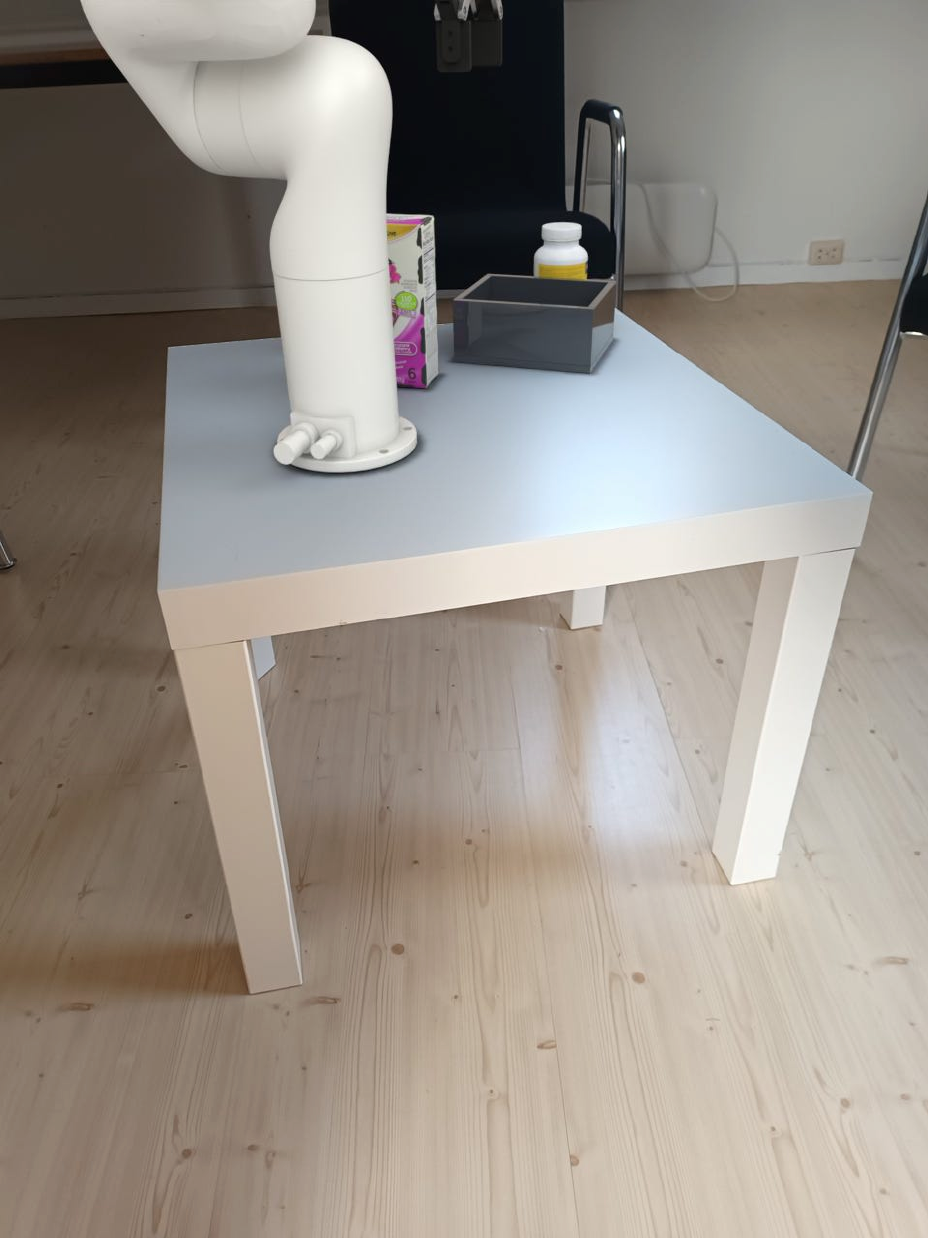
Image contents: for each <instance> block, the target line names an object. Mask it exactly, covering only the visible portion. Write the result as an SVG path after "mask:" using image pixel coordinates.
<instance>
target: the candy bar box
mask: <svg viewBox="0 0 928 1238" xmlns="http://www.w3.org/2000/svg"><path fill="white" fill-rule="evenodd" d="M386 223H387V244H388V261H389V273H390V289H391V305H392V320H393V336H394V352H395V367H396V383H397V387H401V388H402V387H404V388H416V389H417V388H418V389H427V388H428V387H430V385H431V384H432V382H433V381H434V380H435V379H436V378H437V377H438V376H439V374H440V373H439V370H440V369H439V367H440V365H439V364H440V363H439V342H438V341H439V340H438V339H439V338H438V337H439V335H438V334H439V333H438V311H437V310H438V305H437V303H438V302H437V273H436V234H435V217H434V215H430V214H407V213H386Z"/></svg>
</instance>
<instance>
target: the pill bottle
mask: <svg viewBox="0 0 928 1238" xmlns="http://www.w3.org/2000/svg"><path fill="white" fill-rule="evenodd" d="M581 238H582V225H581V224H579V223H577V222H566V221H560V222H548V223H545V224H542V226H541V239H542V240H543V245H542V246H540V247H539V248H538V249H537V250H536V251H535V253H534V256H533V276H535V277H553V278H571V279H588V261H589V256H588V252H587V250H586V249H585V248H584V247H582V246H581V245H580V241H579V240H580V239H581Z"/></svg>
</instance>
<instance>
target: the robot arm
mask: <svg viewBox="0 0 928 1238" xmlns="http://www.w3.org/2000/svg"><path fill="white" fill-rule="evenodd" d="M79 1H80V3H81V7H82V10H83V13H84V14H85V17H86V19H87V21H88V23H89V26H90V27H91V30H92V32H93V33H94V35H95V37H96V38H97V40H98V42H99V43H100V45H101V46H102V48H103V50H105V52H106V53H107V55H108V57H109V58H110V59H111V60H112V62H113V63H114V65H115V66H116V67H117V68H118V70H119V71H120V72H121V74H122V75H123V76H124V79H126V81H127V82H128V83H129V85H130V86H131V88H132V89H133V90H134V91H135V93H136V94H137V96H138V97H139V98H140V99H141V101H142V102H143V104H144V105H145V106H146V108H148V110H149V111H150V113H151V114H152V116H153V117H154V118H155V119H156V120H157V122H158V123H159V125H160V126H161V127H162V129H163V130H164V131H165V132H166V133H167V135H168V136H169V138H170V139H171V141H172V142H173V143H174V144H175V145H176V146H177V147H178V149H179V150H180V152H182V153H183V155H184V156H185V157H187V158H188V159H189V160H190V161H191V162H192V163H194V164H195V165H196V166H197V167H199V168H201V169H203V170H205V171H206V172H209V173H212V174H215V175H219V176H227V177H236V178H252V179H272V180H274V179H275V180H280V181H287V183H286V189H285V192H284V194H283V197H282V199H281V202H280V203H279V206H278V209H277V211H276V214H275V216H274V219H273V221H272V225H271V229H270V234H269V257H270V264H271V265H270V266H271V272H272V278H273V286H274V292H275V293H274V294H275V300H276V309H277V316H278V324H279V331H280V339H281V346H282V347H281V348H282V354H283V360H284V361H283V363H284V370H285V378H286V386H287V392H288V400H289V407H290V413H289V420H290V424H289V425H287V426H286V427H285V428H283V429H282V430H281V432H280V433H279V434H278V436H277V440H276V444H275V445H274V446H273V456H274V457H275V460H276V461H277V462H279V463H280V464H282V465H284V466H285V465H292V466H293V467H298V468H299V469H302V470H308V471H312V472H320V473H338V474H339V473H342V474H343V473H356V472H363V471H369V470H373V469H379V468H382V467H385V466H388V465H392V464H394V463H396V462H398V461H400V460H403V459H404V458H406V457H407V456H408V455H410V454H411V453H412V452H413V451H414V450H415V449H416V446H417V444H418V431H417V428H416V426H415V425H414V424H413V423H412V422H411V421H410V420H408V419H406V418H405V417H403V416H401V415H399V400H398V386H397V383H396V367H395V352H394V336H393V320H392V305H391V289H390V273H389V261H388V244H387V223H386V214H387V181H388V168H389V167H388V166H389V165H388V164H389V155H390V148H391V138H392V128H393V95H392V90H391V86H390V82H389V79H388V76H387V73H386V72H385V70H384V68H383V67H382V65H381V63H380V61H379V60H378V59H377V58H376V57H375V56H374V55H373V54H372V53H371V52H370V51H369V50H368V49H366V48H365V47H363V46H361V45H360V44H358V43H356V42H353V41H351V40H348V39H347V38H346V39H345V38H341V37H336V36H329V35H316V34H314V35H313V34H311V35H310V34H309V31H310V30H311V27H312V25H313V22H314V20H315V16H316V10H317V9H316V8H317V1H316V0H79ZM434 2H435V4H434V10H433V15H434V20H435V37H436V38H435V39H436V66H437V67H436V68H437V71H438V72H439V73H468V72H471V70H472V67H473V68H497V67H498V68H499V67H501V66H502V64H503V15H504V14H503V13H504V12H503V5H502V0H434ZM469 8H471V12H472V16H473V19H469V20H467V18H468V14H469V13H468V12H469ZM308 34H309V35H308Z"/></svg>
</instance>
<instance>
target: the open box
mask: <svg viewBox="0 0 928 1238" xmlns="http://www.w3.org/2000/svg"><path fill="white" fill-rule="evenodd" d="M616 297H617V280H603V279H588V278H587V279H571V278H553V277H535V276H534V275H515V274H514V275H513V274H499V273H498V274H497V273H496V274H495V273H487V274H485V275H484V276H483V277H481V278H480V279H479V280H477V281H476V282H475V283H474V284H472V285H471V286H470V287H468V288H467V289H466V290H464V291H463V292H461V293H460V294H458V296H456V297H455V298H454V299H452V331H453V362H454V363H462V364H463V363H465V364H474V365H475V364H477V365H488V366H497V367H498V366H499V367H510V368H512V367H513V368H524V369H534V370H546V371H556V372H557V371H558V372H559V371H560V372H570V373H581V374H591V372H592V371H593V370H594V368H595V366H597V364H598V362H599V361H600V359H601V358H602V356H603V355H604V354H605V352H606V351H607V349H608V348H609V347H610V345H611V343H612V342H613V341H614V329H615V328H614V326H615V313H616V312H615V311H616Z"/></svg>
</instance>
